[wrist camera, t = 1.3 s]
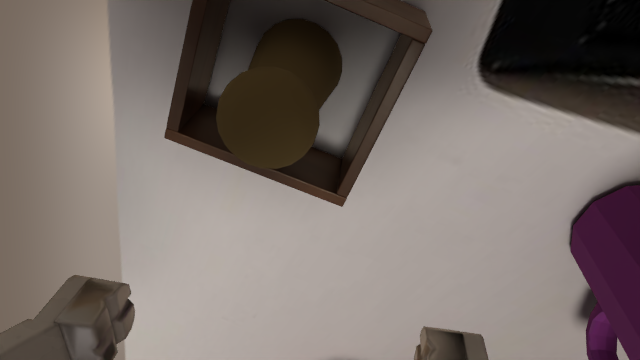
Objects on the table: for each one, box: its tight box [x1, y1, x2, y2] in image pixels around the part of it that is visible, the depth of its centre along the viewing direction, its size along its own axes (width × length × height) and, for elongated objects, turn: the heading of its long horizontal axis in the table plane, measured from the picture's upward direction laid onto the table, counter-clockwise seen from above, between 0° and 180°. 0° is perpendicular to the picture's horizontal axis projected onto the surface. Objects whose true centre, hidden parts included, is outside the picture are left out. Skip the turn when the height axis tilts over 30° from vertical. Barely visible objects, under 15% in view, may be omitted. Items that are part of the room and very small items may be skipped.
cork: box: [216, 19, 342, 169], centre depth 26 cm, size 6×6×11 cm
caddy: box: [165, 0, 432, 207], centre depth 28 cm, size 13×13×5 cm
